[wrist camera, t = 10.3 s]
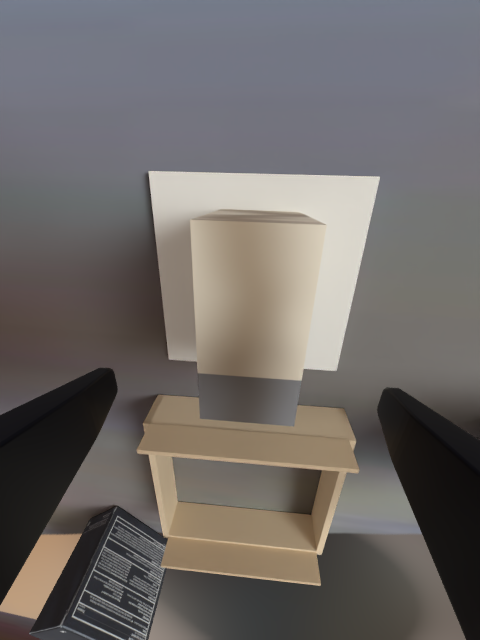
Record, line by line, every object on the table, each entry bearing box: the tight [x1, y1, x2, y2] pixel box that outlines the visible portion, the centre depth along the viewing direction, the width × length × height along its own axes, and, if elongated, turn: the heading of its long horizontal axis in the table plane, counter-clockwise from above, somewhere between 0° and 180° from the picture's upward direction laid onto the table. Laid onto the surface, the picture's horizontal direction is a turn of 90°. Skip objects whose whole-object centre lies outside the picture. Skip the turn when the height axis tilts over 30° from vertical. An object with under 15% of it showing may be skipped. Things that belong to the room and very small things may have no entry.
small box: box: [29, 507, 168, 640], centre depth 31 cm, size 11×6×10 cm, turn 39°
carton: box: [137, 395, 359, 586], centre depth 25 cm, size 17×17×6 cm
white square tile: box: [149, 171, 380, 371], centre depth 19 cm, size 14×14×1 cm
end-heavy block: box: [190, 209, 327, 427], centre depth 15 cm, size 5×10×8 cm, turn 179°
